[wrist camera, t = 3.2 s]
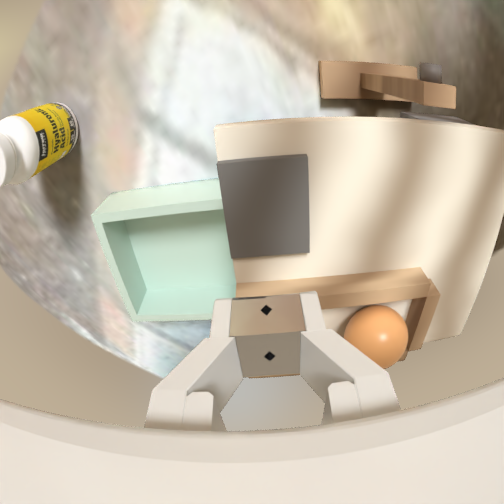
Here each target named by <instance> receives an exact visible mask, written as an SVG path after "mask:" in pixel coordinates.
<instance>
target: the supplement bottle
mask: <svg viewBox="0 0 504 504" xmlns="http://www.w3.org/2000/svg"><path fill="white" fill-rule="evenodd" d="M77 137H78V123H77V120H76V117H75V115H74V113H73V112H72V110H71V109H70V108H69V107H67V106H66V105H64V104H62V103H49V104H45V105H42V106H38V107H35V108H32V109H29V110H26V111H23V112H20V113H17V114H14V115H11V116H9V117H6V118H4V119H2V120H1V121H0V188H1V187H3V186H4V185H6V184H9V185H18V184H21V183H23V182H25V181H27V180H28V179H30V178H31V177H33V176H34V175H36V174H37V173H39V172H41V171H42V170H44V169H45V168H47V167H48V166H50V165H52V164H53V163H55V162H56V161H58V160H59V159H61V158H63V157H64V156H66V155H67V154H68V153H69V152H70V151H71V150H72V149H73V147H74V146H75V144H76V141H77Z"/></svg>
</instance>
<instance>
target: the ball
mask: <svg viewBox="0 0 504 504" xmlns="http://www.w3.org/2000/svg"><path fill="white" fill-rule="evenodd" d="M344 339H345V340H347V341H348V342H349V343H350V344H352V345H353V346H354V347H356V348H357V349H358V350H359V351H361V352H362V353H363V354H365V355H366V356H367V357H368V358H370V359H371V360H372V361H374V362H375V363H376V364H378V365H379V366H380V367H381V368H383V369H386V368H389V367H390V366H392V365H393V364H395V363H396V362H397V361H398V360H399V359H400V358H401V357H402V355H403V354H404V352H405V350H406V347H407V343H408V329H407V326H406V323H405V321H404V319H403V318H402V316H401V315H400V314H399V313H398V312H397V311H395V310H394V309H392V308H390V307H387V306H383V305H372V306H368V307H365V308H363V309H361V310H360V311H358V312H357V313H356V314H355V315H354V316H353V317H352V318H351V319H350V321H349V322H348V324H347V326H346V329H345V333H344Z"/></svg>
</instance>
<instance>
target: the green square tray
mask: <svg viewBox="0 0 504 504" xmlns="http://www.w3.org/2000/svg"><path fill="white" fill-rule="evenodd" d="M91 217H92V220H93V223H94V226H95V229H96V232H97V235H98V238H99V241H100V243H101V246H102V249H103V252H104V254H105V257H106V259H107V262H108V265H109V267H110V270H111V272H112V275H113V277H114V280H115V282H116V285H117V287H118V290H119V292H120V294H121V297H122V299H123V301H124V304H125V306H126V308H127V310H128V313H129V315H130V317H131V319H132V321H185V320H211V319H212V314H213V306H214V301H215V300H216V299H222V298H235V296H236V278H235V271H234V265H233V259H231V255H230V249H229V242H228V236H227V230H226V223H225V217H224V210H223V203H222V197H221V190H220V183H219V178H217V179H208V180H199V181H191V182H183V183H175V184H168V185H160V186H153V187H147V188H140V189H133V190H127V191H121V192H115V193H111V194H110V195H109V196H108V197H107V198H106V199H105V200H104V202H103V203H102V204H101V205H100V206H99V207H98V208H97V209H96V210H95V211H94V212H93V213H92V215H91Z"/></svg>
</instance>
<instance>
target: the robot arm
mask: <svg viewBox="0 0 504 504" xmlns="http://www.w3.org/2000/svg"><path fill="white" fill-rule="evenodd" d="M299 373H300V375H301V376H302V377H303V379H304V380H305V381H306V382H307V383H308V384H309V385H310V387H311V388H312V389H313V390H314V391H315V392H316V393H317V395H318V396H319V397H320V398H321V399H322V400H323V401H324V403H325V408H324V413H323V419H322V424H321V425H315V426H307V427H298V428H288V429H287V428H286V429H274V430H255V431H227V430H226V428H225V425H224V423H223V420H222V417H221V415H220V412H221V411H222V409H223V408H224V406H225V405H226V404H227V402H228V401H229V399H230V398H231V396H232V395H233V393H234V392H235V390H236V389H237V387H238V386H239V385H240V383H241V382H242V380H243V378H244V377H257V376H268V375H284V374H299ZM0 504H504V378H502V379H499V380H497V381H494V382H491V383H489V384H486V385H484V386H481V387H478V388H476V389H472V390H470V391H467V392H464V393H461V394H458V395H455V396H451V397H448V398H445V399H442V400H438V401H435V402H432V403H428V404H424V405H421V406H417V407H413V408H408V409H404V410H401V409H400V406H399V403H398V400H397V397H396V394H395V391H394V387H393V385H392V382H391V379H390V376H389V373H388V372H387V371H385V370H384V369H383V368H381V367H380V366H379V365H378V364H376V363H375V362H374V361H372V360H371V359H370V358H368V357H367V356H366V355H365V354H363V353H362V352H361V351H359V350H358V349H357V348H356V347H354V346H353V345H352V344H350V343H349V342H348V341H347V340H345V339H344V338H343V337H341V336H340V335H339V334H337V333H336V332H335V331H334V330H332V329H326V326H325V322H324V318H323V314H322V310H321V306H320V302H319V298H318V294H317V292H316V291H309V292H300V293H294V294H284V295H272V296H257V297H237V298H222V299H216V300H215V301H214V306H213V314H212V321H211V328H210V336H209V338H204V339H203V340H202V341H201V342H200V343H199V344H198V345H197V346H196V347H195V348H194V349H193V350H192V351H191V352H190V353H189V354H188V355H187V356H186V357H185V358H184V359H183V360H182V361H181V362H180V363H179V364H178V365H177V366H176V367H175V368H174V369H173V370H172V371H171V372H170V373H169V374H168V375H167V376H166V377H165V378H164V379H163V380H162V381H161V382H160V383H159V384H158V385H157V386H156V387H155V388H154V389H153V391H152V395H151V400H150V404H149V408H148V413H147V417H146V422H145V426H144V428H141V427H132V426H123V425H116V424H108V423H102V422H95V421H89V420H84V419H78V418H73V417H68V416H63V415H59V414H54V413H50V412H45V411H41V410H37V409H34V408H30V407H26V406H22V405H18V404H15V403H12V402H9V401H5V400H2V399H0Z"/></svg>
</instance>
